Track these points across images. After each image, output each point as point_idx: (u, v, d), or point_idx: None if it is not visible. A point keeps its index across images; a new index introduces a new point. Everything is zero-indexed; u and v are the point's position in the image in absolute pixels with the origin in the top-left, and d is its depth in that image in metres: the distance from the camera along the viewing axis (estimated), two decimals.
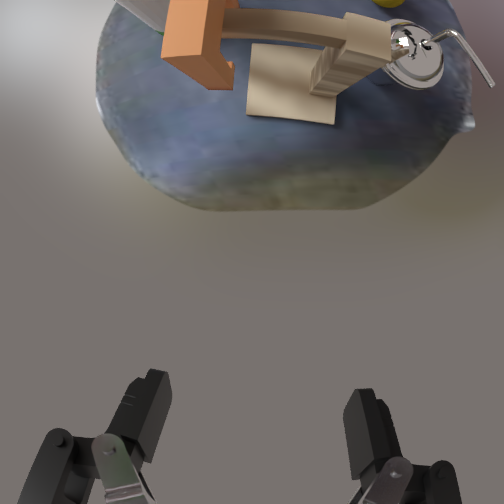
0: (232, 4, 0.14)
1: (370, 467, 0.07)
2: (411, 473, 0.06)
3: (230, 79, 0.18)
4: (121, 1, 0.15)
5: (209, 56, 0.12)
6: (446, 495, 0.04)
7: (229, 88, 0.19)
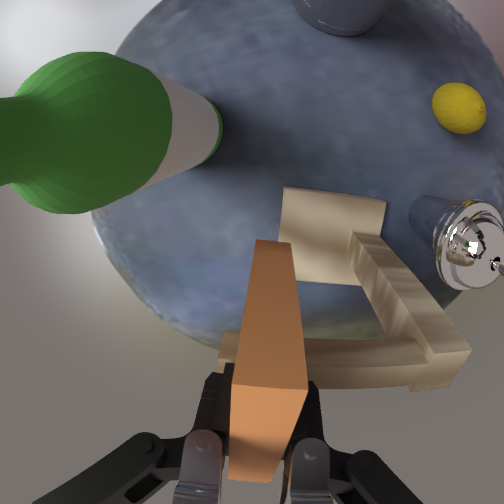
0: None
1: (288, 446, 0.08)
2: (326, 457, 0.07)
3: None
4: None
5: None
6: (381, 484, 0.06)
7: None
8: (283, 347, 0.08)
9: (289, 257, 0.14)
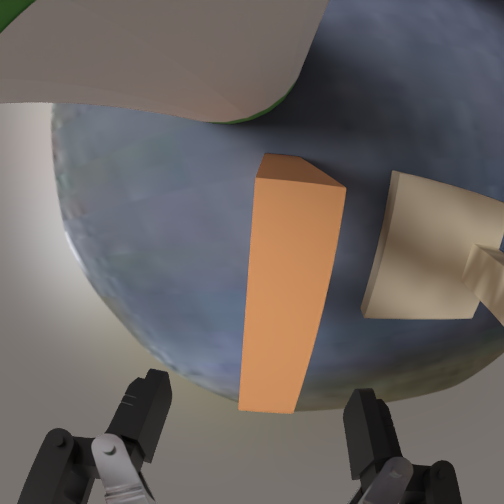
0: None
1: (370, 467, 0.07)
2: (411, 473, 0.06)
3: None
4: None
5: None
6: (446, 495, 0.04)
7: None
8: (308, 174, 0.07)
9: (299, 158, 0.13)
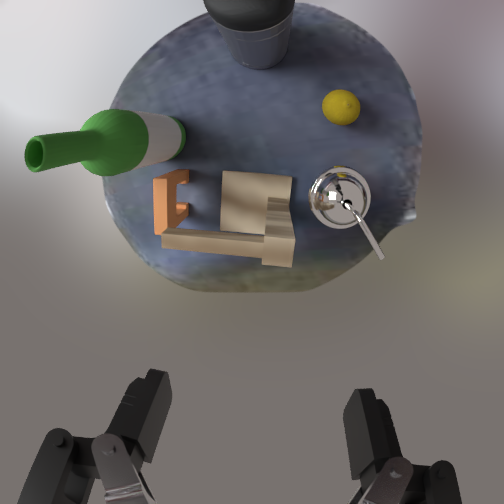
0: (181, 181, 0.42)
1: (370, 467, 0.07)
2: (411, 473, 0.06)
3: (185, 214, 0.46)
4: None
5: None
6: (446, 495, 0.04)
7: (186, 216, 0.47)
8: (166, 176, 0.36)
9: (184, 170, 0.43)
